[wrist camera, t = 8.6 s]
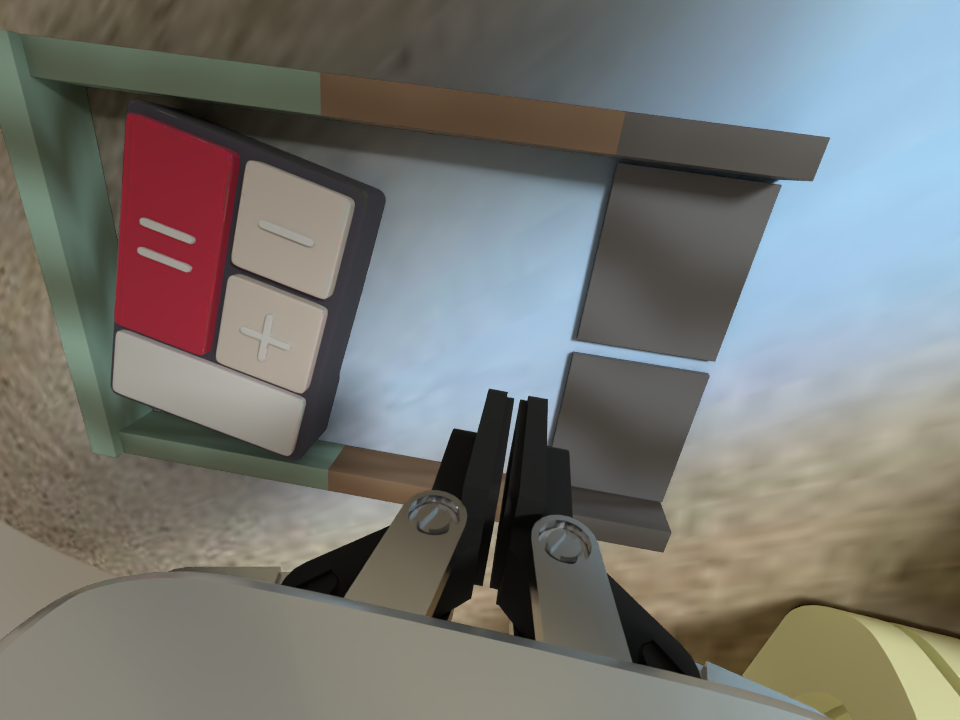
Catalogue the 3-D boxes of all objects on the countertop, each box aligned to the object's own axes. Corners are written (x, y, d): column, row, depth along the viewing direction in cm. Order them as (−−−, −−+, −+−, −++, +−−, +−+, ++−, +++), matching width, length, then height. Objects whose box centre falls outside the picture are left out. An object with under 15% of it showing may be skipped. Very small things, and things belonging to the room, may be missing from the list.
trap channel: (47, 45, 21) (-28, 25, 18) (794, 141, 19) (838, 136, 16) (134, 426, 29) (93, 453, 26) (652, 520, 27) (665, 559, 24)
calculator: (364, 192, 18) (292, 472, 24) (393, 193, 22) (326, 432, 28) (109, 90, 18) (95, 398, 23) (185, 109, 22) (158, 369, 27)
